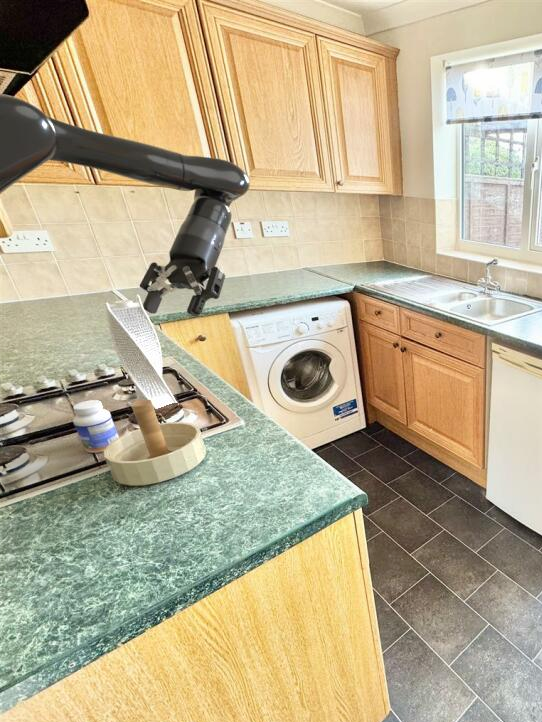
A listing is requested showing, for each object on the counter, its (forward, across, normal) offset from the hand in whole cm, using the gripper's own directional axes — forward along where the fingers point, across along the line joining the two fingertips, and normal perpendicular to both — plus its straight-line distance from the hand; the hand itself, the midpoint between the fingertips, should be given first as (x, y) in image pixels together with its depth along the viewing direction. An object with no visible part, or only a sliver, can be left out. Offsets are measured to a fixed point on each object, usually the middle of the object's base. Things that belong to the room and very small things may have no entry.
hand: (170, 313), depth 81 cm
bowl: (+28, 0, +11) cm, 30 cm away
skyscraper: (+14, -17, +25) cm, 33 cm away
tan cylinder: (+27, 0, +11) cm, 29 cm away
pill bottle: (+25, -16, +14) cm, 33 cm away
